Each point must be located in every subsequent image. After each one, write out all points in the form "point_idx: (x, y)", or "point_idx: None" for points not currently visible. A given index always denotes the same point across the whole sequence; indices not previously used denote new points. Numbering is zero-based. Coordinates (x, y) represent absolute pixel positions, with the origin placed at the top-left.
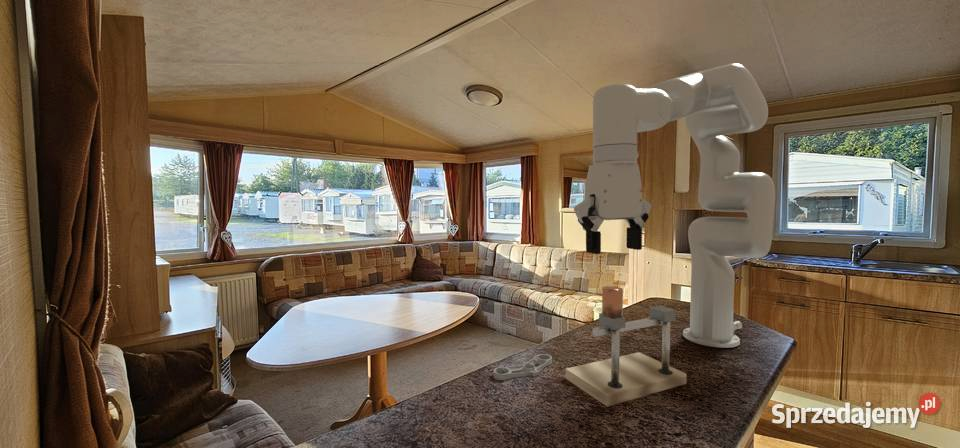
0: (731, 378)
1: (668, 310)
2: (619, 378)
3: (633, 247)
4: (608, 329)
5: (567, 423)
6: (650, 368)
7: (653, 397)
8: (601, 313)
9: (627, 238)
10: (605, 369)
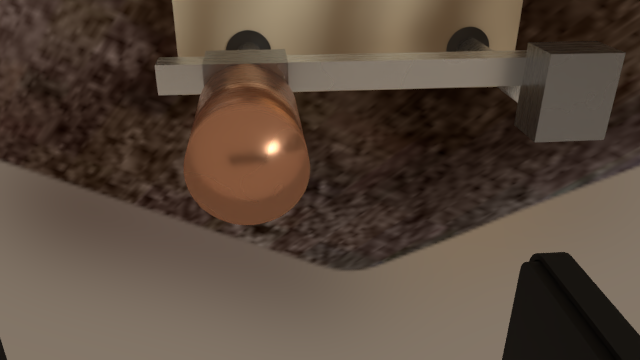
0: (635, 104)
1: (571, 132)
2: (295, 22)
3: (513, 341)
4: None
5: (30, 107)
6: (449, 7)
7: (344, 96)
8: (214, 69)
9: (569, 339)
10: None
